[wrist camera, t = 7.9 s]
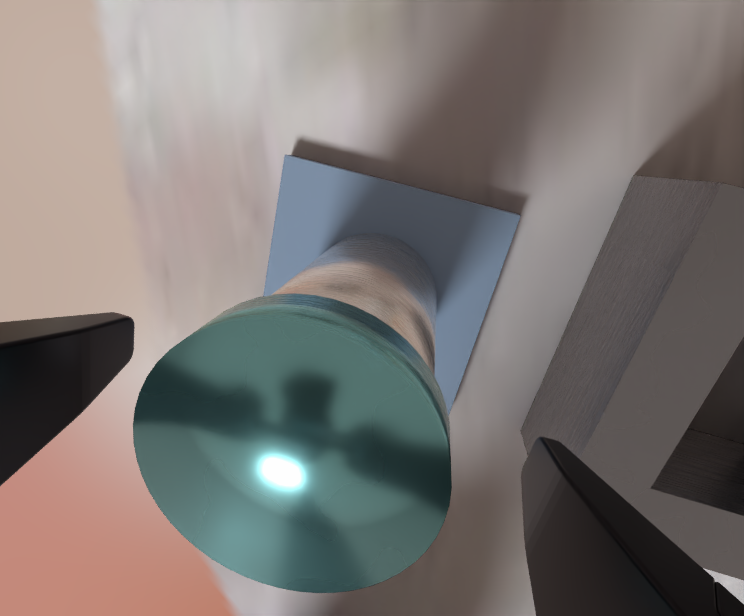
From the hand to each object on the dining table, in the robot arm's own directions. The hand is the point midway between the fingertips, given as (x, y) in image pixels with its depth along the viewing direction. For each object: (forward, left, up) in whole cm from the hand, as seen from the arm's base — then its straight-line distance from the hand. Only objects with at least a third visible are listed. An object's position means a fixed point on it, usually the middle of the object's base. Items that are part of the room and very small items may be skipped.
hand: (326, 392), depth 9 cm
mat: (0, 0, -7) cm, 7 cm away
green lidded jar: (0, 0, -7) cm, 7 cm away
